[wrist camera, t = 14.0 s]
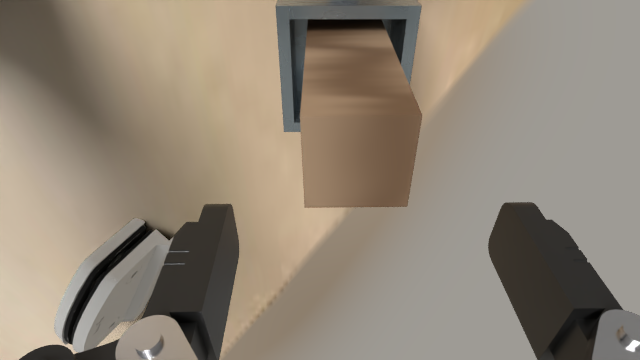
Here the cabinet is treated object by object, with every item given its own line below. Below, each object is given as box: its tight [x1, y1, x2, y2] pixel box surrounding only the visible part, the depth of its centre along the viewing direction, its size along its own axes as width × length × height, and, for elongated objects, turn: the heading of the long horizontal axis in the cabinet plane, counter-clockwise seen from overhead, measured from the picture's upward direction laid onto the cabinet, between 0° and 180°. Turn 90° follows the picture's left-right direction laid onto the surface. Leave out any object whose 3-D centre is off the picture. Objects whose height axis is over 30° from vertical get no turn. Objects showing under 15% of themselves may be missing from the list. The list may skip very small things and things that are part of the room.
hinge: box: [54, 218, 173, 353], centre depth 42 cm, size 17×5×10 cm, turn 150°
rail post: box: [300, 19, 422, 208], centre depth 19 cm, size 4×4×12 cm
